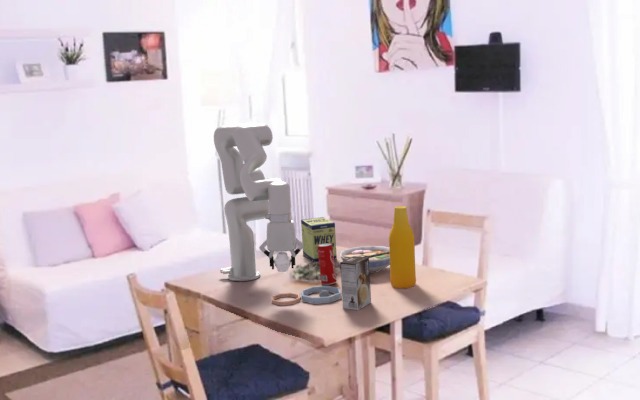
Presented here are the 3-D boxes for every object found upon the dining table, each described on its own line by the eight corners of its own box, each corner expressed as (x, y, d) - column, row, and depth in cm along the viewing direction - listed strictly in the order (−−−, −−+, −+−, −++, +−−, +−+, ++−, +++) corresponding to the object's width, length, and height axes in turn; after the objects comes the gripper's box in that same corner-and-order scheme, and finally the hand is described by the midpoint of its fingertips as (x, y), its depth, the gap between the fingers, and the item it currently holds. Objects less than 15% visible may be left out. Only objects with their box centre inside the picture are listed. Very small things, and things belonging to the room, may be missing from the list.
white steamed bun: (291, 267, 276) (290, 248, 274) (291, 272, 270) (290, 253, 268) (274, 268, 276) (273, 249, 274) (273, 273, 270) (272, 254, 268)
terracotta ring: (271, 305, 269) (271, 302, 268) (271, 297, 278) (271, 294, 278) (300, 303, 269) (300, 300, 269) (299, 295, 279) (299, 292, 279)
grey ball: (319, 301, 270) (319, 291, 269) (319, 298, 274) (318, 288, 273) (330, 301, 270) (329, 291, 270) (329, 298, 274) (328, 288, 273)
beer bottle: (404, 280, 291) (401, 203, 286) (421, 284, 283) (418, 206, 278) (385, 285, 286) (382, 207, 280) (402, 290, 278) (399, 210, 273)
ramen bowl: (378, 259, 322) (377, 240, 320) (412, 271, 302) (412, 250, 301) (327, 270, 309) (326, 250, 308) (359, 283, 290) (358, 261, 288)
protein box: (313, 262, 324) (311, 225, 321) (302, 254, 338) (300, 219, 335) (337, 259, 327) (335, 222, 324) (325, 251, 341) (323, 216, 339)
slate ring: (302, 304, 268) (301, 298, 268) (301, 292, 282) (300, 287, 281) (342, 301, 269) (341, 296, 268) (339, 290, 282) (338, 284, 282)
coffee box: (355, 300, 270) (353, 255, 267) (371, 302, 266) (369, 257, 263) (341, 308, 262) (339, 262, 259) (358, 310, 258) (356, 263, 256)
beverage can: (335, 285, 289) (333, 246, 286) (317, 285, 290) (315, 246, 287) (337, 280, 294) (335, 242, 292) (321, 280, 296) (318, 242, 293)
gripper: (254, 221, 265) (257, 272, 268) (305, 219, 265) (307, 269, 269) (255, 216, 272) (258, 266, 276) (304, 214, 273) (307, 263, 276)
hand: (282, 267), depth 272 cm, fingers closed on white steamed bun, 6 cm apart
